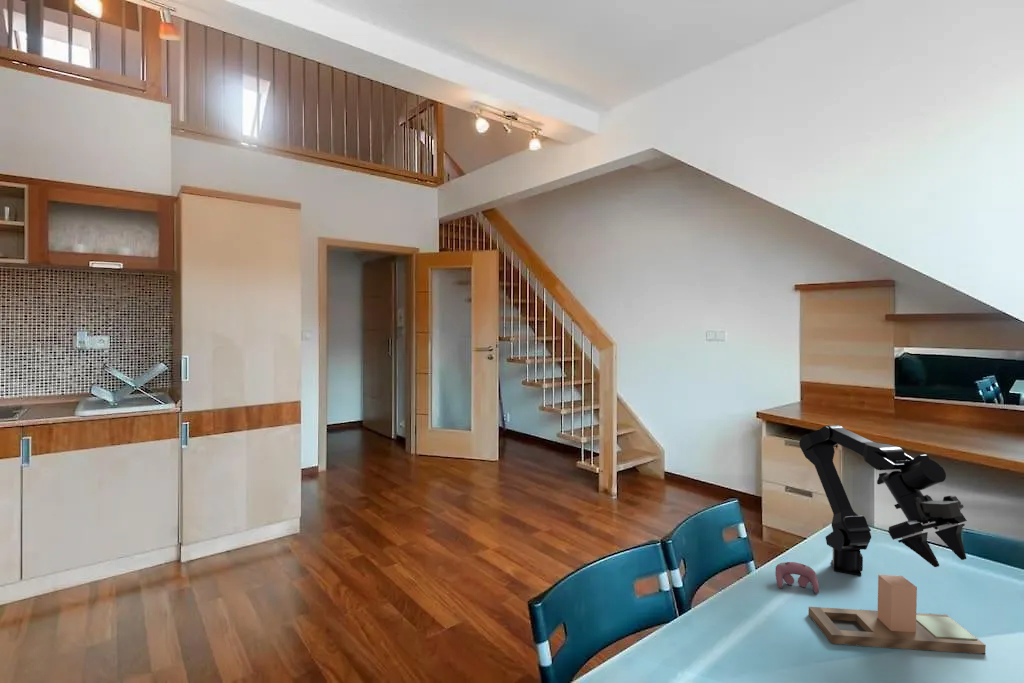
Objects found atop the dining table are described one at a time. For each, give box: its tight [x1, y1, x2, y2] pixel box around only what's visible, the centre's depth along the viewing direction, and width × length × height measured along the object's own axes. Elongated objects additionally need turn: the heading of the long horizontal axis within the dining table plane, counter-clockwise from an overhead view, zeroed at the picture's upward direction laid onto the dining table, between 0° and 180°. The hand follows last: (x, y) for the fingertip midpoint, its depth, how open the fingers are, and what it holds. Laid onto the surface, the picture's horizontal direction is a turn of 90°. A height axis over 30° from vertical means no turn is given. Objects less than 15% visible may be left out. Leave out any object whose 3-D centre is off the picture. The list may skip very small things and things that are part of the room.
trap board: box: [808, 606, 986, 654], centre depth 113 cm, size 30×11×2 cm, turn 83°
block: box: [877, 574, 918, 632], centre depth 113 cm, size 5×5×10 cm
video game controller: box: [774, 561, 820, 595], centre depth 134 cm, size 10×5×7 cm, turn 71°
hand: (950, 563), depth 116 cm, fingers open, 9 cm apart
